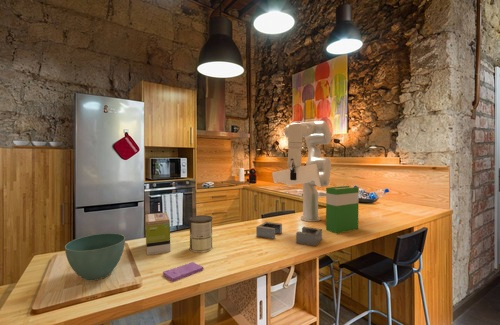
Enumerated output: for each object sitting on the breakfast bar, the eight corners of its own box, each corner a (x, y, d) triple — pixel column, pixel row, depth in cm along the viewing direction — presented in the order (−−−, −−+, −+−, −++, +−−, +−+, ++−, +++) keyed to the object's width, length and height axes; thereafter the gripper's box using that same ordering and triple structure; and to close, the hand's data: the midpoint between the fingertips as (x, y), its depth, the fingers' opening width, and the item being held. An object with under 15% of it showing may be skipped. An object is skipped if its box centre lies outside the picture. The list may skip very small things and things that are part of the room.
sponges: (162, 276, 91) (162, 271, 91) (193, 265, 100) (193, 261, 100) (172, 283, 86) (172, 277, 86) (203, 271, 95) (203, 266, 95)
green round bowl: (130, 277, 89) (129, 243, 89) (65, 294, 79) (64, 254, 78) (121, 260, 104) (120, 230, 104) (65, 272, 93) (65, 239, 93)
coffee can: (185, 248, 117) (185, 217, 117) (204, 242, 124) (204, 214, 124) (197, 254, 110) (197, 221, 109) (217, 248, 117) (217, 217, 117)
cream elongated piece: (319, 188, 131) (314, 163, 132) (275, 194, 143) (271, 172, 143) (322, 186, 136) (317, 163, 137) (278, 193, 148) (274, 171, 148)
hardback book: (347, 225, 153) (348, 185, 153) (358, 229, 147) (358, 187, 146) (326, 230, 145) (326, 187, 144) (336, 233, 139) (336, 189, 138)
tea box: (145, 244, 123) (145, 213, 122) (167, 241, 127) (167, 211, 126) (146, 255, 109) (145, 221, 108) (170, 252, 113) (170, 218, 112)
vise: (266, 230, 144) (266, 221, 144) (321, 238, 130) (321, 229, 130) (256, 236, 134) (256, 226, 134) (315, 246, 119) (315, 235, 119)
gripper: (293, 146, 148) (293, 178, 149) (282, 146, 133) (282, 180, 134) (306, 146, 145) (306, 178, 146) (296, 145, 130) (296, 181, 131)
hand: (295, 179), depth 140 cm, fingers closed on cream elongated piece, 5 cm apart
